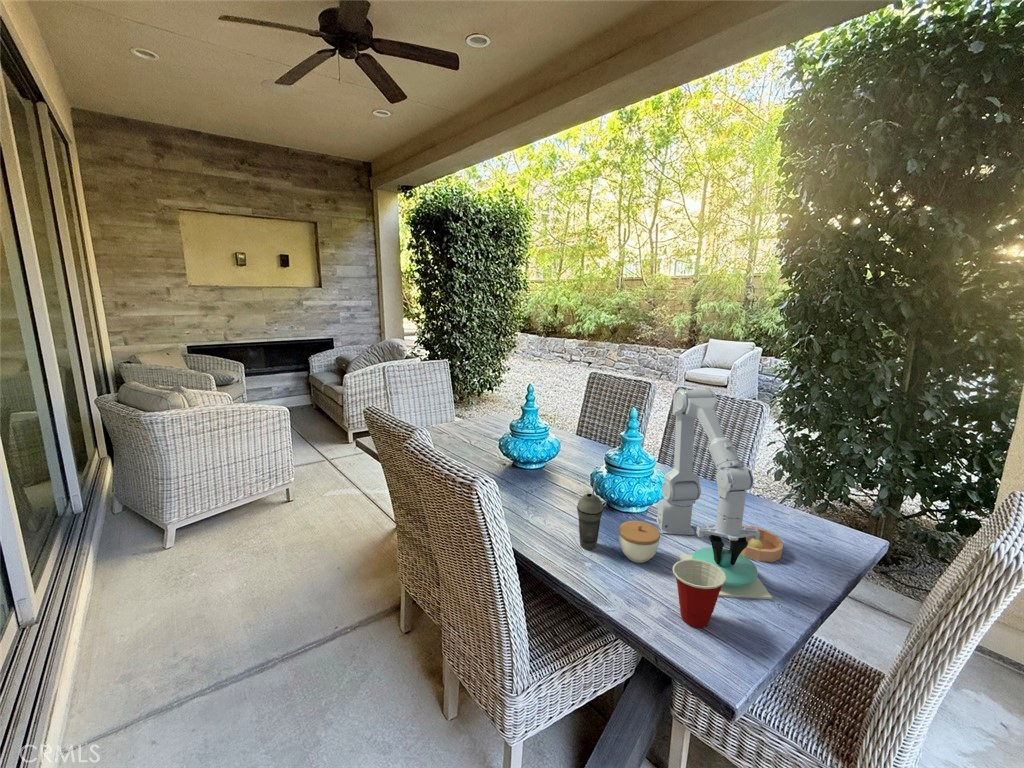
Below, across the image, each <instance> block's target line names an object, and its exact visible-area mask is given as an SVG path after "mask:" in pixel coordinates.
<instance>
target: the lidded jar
mask: <svg viewBox="0 0 1024 768" xmlns="http://www.w3.org/2000/svg"><path fill="white" fill-rule="evenodd" d="M660 538H661V531H659V529H658V528H657V527H656V526H654V524H653V525H652V524H651V523H648V522H645V521H641V520H629V521H625V522H622V523H621V524H620V525H619V527H618V542H619V546H620V549H621V551H622V553H623V554H624V555H625V556H626V558H627V559H628V560H629V561H632V562H634V563H639V564H643V563H646V562H648V561H649V560H651V559H652V558H653V557H654V556H655V555H656V554H657V551H658V548H659V544H660Z"/></svg>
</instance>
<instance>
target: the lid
mask: <svg viewBox="0 0 1024 768" xmlns="http://www.w3.org/2000/svg"><path fill="white" fill-rule="evenodd" d="M692 555H693V556H692V559H695V560H703V561H706V562H709V563H712V564H714V565H715V566H717V567H719V568H720V569H721V570H722V571H723V572H724V573H725V576H726V580H725V582H724V584H726V585H733V586H742V585H747V584H750V583H752V582H754V581H755V580H756V578H757V577H758V569H757V565H756V564H755V563H754V562H753V561H752V559H750V558H747V557H745V556H743V555H742V554H740V555H739V556H738V558H737V560H736V562H735V565H731V556H732V552H731V551H730V548H729V549H728V548H724V547H723V549H722V552H721V561H720V564H716V562H715V560H714V553H713V548H712V546H707V547H702V548H699V549H697V550H695V551H694V552H693V553H692Z"/></svg>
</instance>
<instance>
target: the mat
mask: <svg viewBox="0 0 1024 768" xmlns="http://www.w3.org/2000/svg"><path fill="white" fill-rule="evenodd" d="M692 556H693V554H679V558H680V561H681V560H687V559H692ZM718 597H724V598H739V599H741V598H742V599H759V600H760V599H761V600H773V596H772V595H771V594H770V592H769V591H768V590H767V588H766V586H765V585H764V584H763V583H762V581H761V580H760V578H759V577H758V576H757V578H756V580H755V581H754V582H752V583H750V584H747V585H742V586H733V585H726V584H723V585H722V587H721V591H720V592H719V595H718Z"/></svg>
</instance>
